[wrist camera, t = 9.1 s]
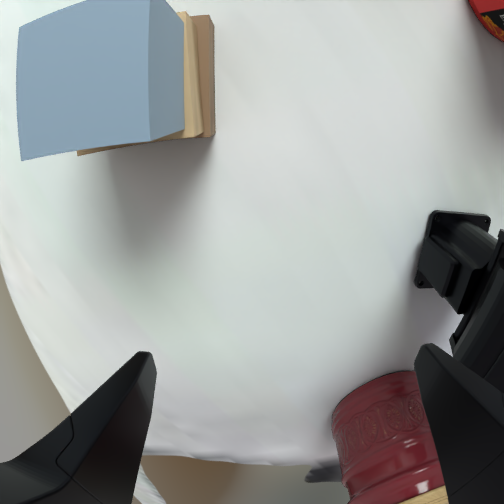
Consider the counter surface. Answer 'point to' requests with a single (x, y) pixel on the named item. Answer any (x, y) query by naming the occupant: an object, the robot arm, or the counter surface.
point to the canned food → (490, 15)
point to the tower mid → (191, 91)
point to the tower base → (206, 72)
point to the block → (99, 76)
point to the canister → (387, 444)
